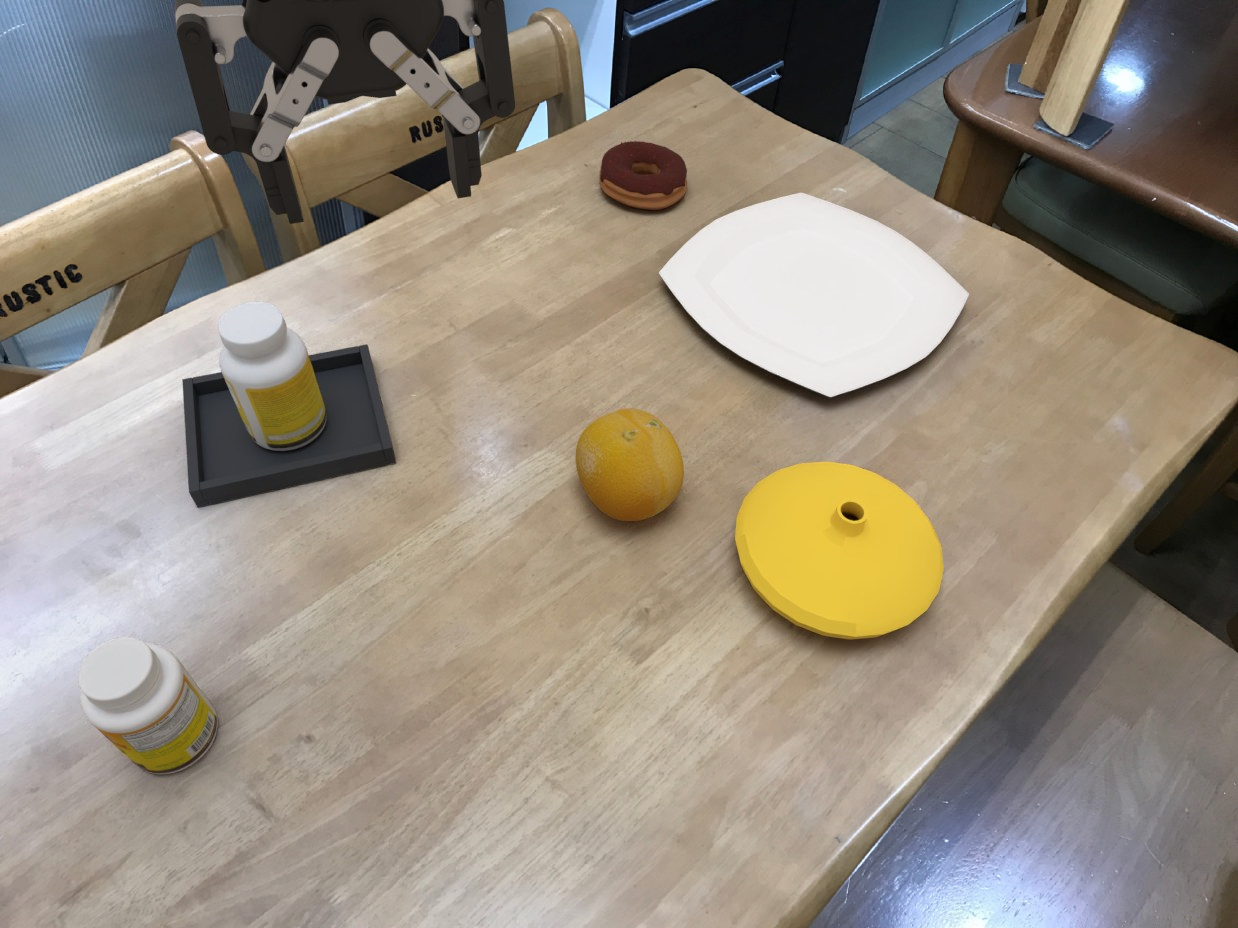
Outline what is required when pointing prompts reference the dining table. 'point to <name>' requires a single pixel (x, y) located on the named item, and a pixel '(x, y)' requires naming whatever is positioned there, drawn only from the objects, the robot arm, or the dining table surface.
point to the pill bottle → (270, 377)
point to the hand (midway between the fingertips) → (380, 201)
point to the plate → (815, 293)
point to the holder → (244, 468)
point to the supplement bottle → (146, 704)
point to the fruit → (629, 464)
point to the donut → (643, 175)
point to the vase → (838, 550)
